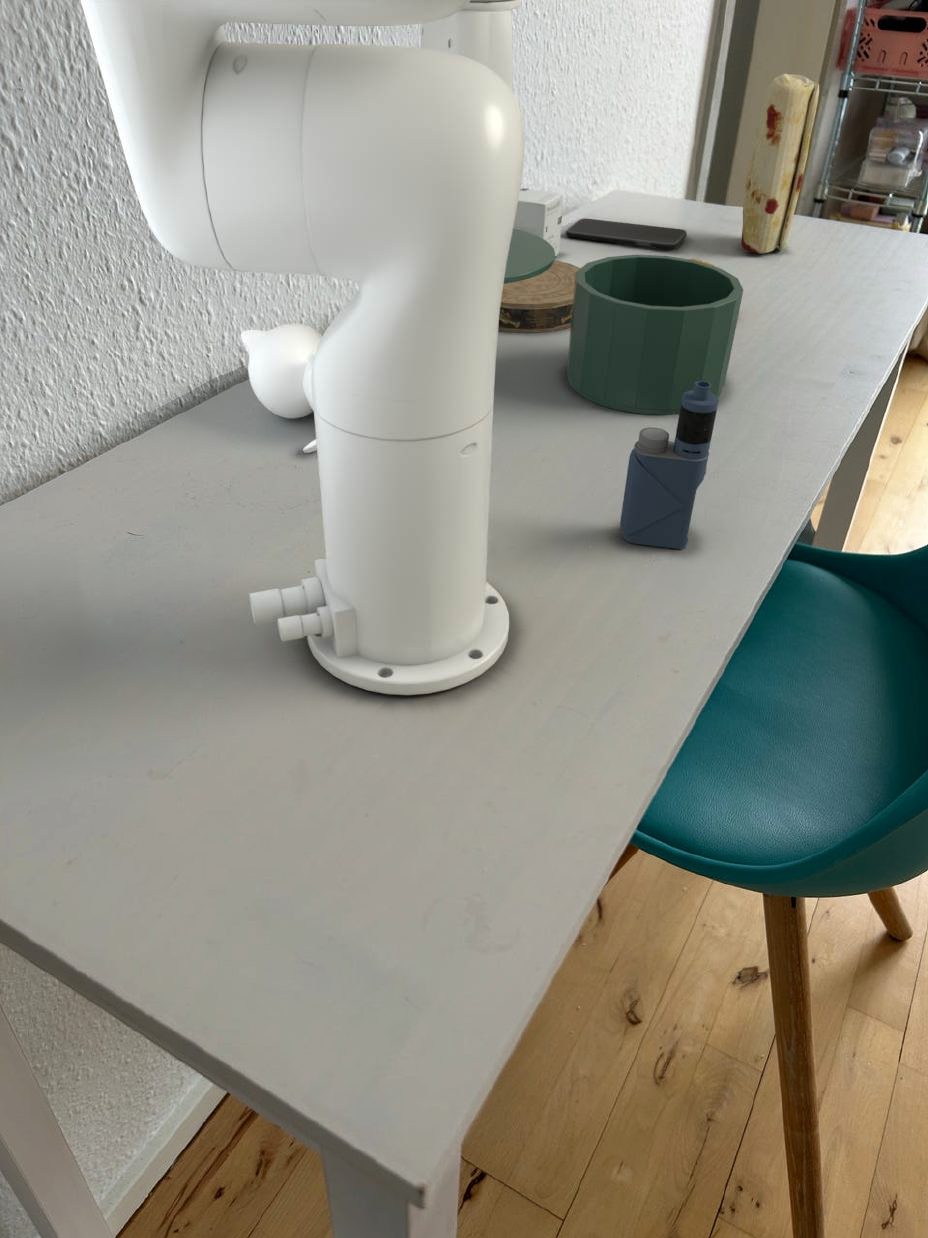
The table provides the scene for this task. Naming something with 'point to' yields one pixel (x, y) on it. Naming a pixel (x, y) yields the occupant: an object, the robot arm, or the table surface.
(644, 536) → the vaping device
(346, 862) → the table surface
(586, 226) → the smartphone
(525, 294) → the round wooden disc
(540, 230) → the white cardboard box
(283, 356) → the cat figurine
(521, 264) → the tin lid
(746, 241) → the food model
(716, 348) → the waste tin
